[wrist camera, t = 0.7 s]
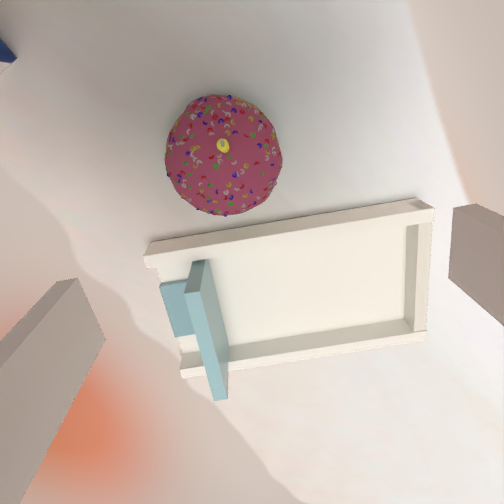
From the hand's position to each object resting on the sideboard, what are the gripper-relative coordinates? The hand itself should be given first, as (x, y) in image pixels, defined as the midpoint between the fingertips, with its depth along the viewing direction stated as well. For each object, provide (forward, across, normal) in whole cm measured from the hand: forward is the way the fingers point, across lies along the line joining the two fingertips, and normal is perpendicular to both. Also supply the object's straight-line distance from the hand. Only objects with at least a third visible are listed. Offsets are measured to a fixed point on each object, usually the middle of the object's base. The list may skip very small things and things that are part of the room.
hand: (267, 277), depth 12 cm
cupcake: (+20, -2, +2) cm, 20 cm away
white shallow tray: (+19, +2, -12) cm, 23 cm away
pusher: (+18, -8, -12) cm, 23 cm away
